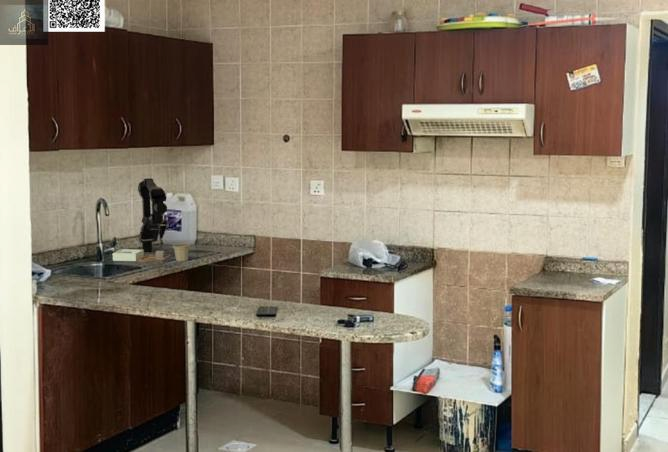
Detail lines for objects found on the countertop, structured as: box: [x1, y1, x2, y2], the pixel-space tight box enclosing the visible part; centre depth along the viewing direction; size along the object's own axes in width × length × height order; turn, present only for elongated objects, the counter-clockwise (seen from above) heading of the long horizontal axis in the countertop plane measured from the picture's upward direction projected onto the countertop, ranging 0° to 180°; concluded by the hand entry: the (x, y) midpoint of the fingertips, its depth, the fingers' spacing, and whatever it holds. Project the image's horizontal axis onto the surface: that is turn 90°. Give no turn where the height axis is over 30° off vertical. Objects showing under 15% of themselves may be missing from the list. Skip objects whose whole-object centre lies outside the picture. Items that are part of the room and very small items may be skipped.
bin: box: [112, 248, 145, 262], centre depth 540 cm, size 13×13×5 cm
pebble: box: [154, 250, 165, 259], centre depth 538 cm, size 4×4×4 cm
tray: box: [136, 253, 173, 263], centre depth 539 cm, size 17×14×2 cm
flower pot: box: [172, 243, 191, 262], centre depth 534 cm, size 9×9×9 cm
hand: (158, 239), depth 537 cm, fingers open, 9 cm apart
